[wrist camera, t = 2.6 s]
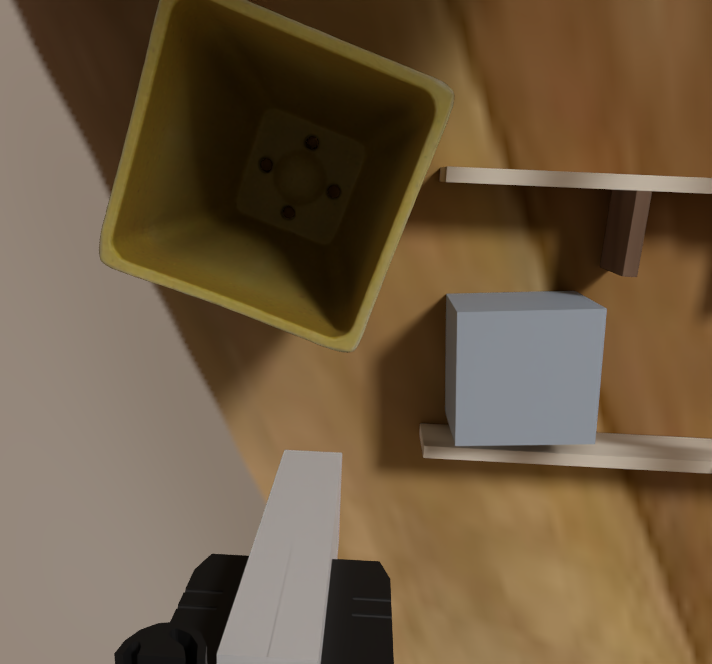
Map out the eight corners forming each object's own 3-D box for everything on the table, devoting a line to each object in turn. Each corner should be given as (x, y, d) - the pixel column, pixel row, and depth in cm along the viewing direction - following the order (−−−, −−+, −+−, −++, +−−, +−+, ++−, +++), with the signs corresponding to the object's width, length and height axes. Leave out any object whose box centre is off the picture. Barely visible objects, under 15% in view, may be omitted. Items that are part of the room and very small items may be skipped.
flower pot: (432, 118, 25) (462, 87, 16) (360, 300, 27) (353, 360, 18) (241, 41, 24) (166, -35, 15) (184, 233, 26) (91, 262, 18)
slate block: (444, 409, 28) (455, 446, 25) (445, 293, 27) (457, 312, 23) (565, 407, 28) (595, 444, 24) (573, 289, 27) (606, 308, 23)
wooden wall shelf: (419, 434, 29) (423, 461, 26) (440, 167, 25) (448, 166, 22) (860, 457, 28) (913, 488, 25) (943, 189, 25) (1016, 191, 22)
